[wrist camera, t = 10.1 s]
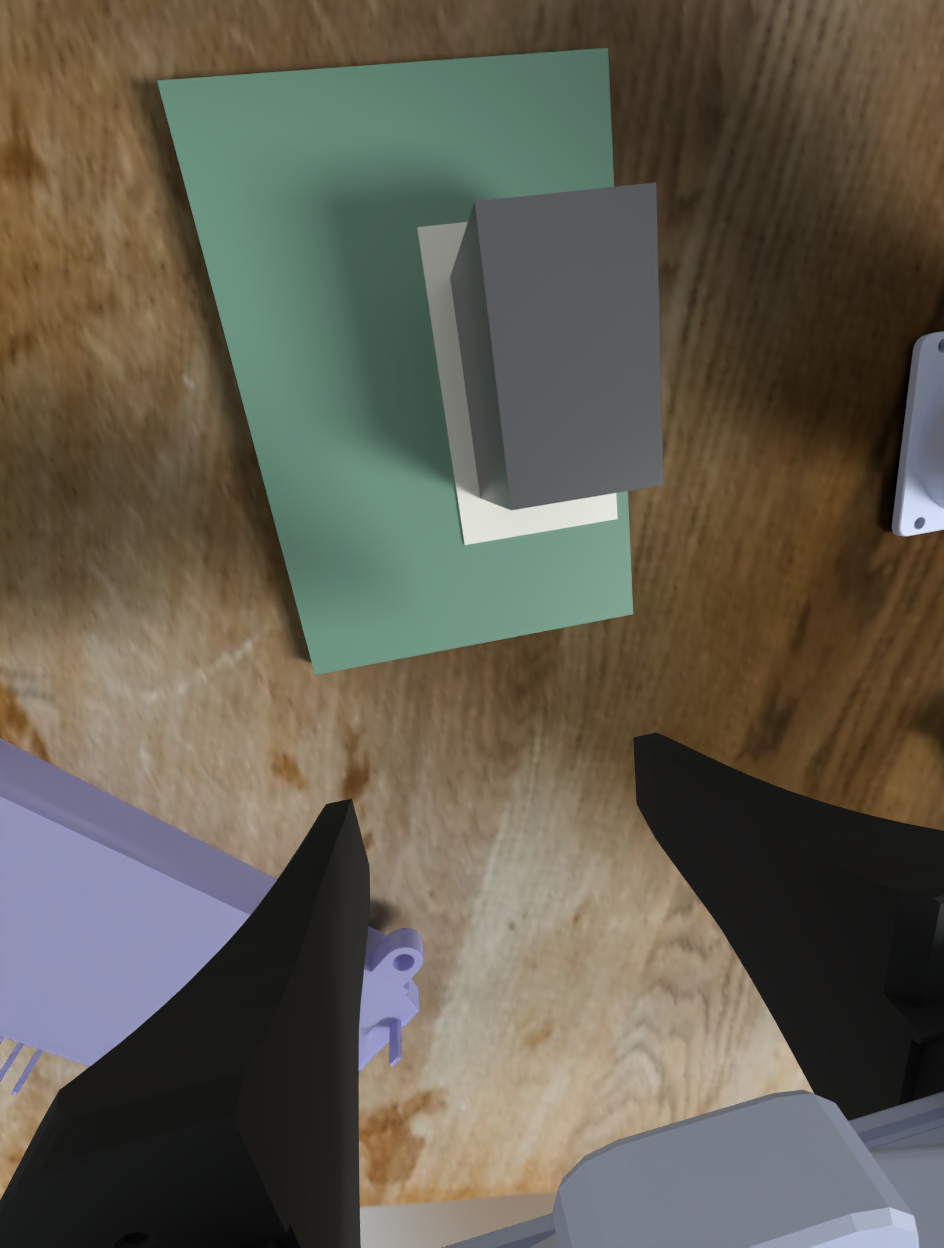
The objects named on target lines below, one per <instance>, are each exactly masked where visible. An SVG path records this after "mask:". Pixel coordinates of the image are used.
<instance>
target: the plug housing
mask: <svg viewBox="0 0 944 1248" xmlns="http://www.w3.org/2000/svg"><path fill="white" fill-rule="evenodd" d="M450 280H451V287H452V295H453V302H454V309H455V316H456V324H457V331H458V338H459V346H460V353H461V360H462V368H463V375H464V382H465V390H466V397H467V404H468V411H469V419H470V426H471V433H472V441H473V448H474V455H475V463H476V470H477V477H478V485H479V492H480V499H483V500H486V501H488V502H491V503H493V504H496V505H499V506H501V507H504V508H506V509H509V510H517V509H523V508H529V507H535V506H541V505H547V504H553V503H559V502H565V501H571V500H577V499H583V498H589V497H595V496H601V495H607V494H613V493H619V492H625V491H631V490H637V489H643V488H649V487H655V486H661V485H663V446H662V404H661V362H660V320H659V278H658V236H657V195H656V182H655V183H646V184H636V185H627V186H617V187H607V188H598V189H588V190H578V191H569V192H559V193H549V194H540V195H530V196H521V197H511V198H501V199H492V200H482V201H475V202H474V205H473V208H472V211H471V214H470V217H469V220H468V223H467V226H466V229H465V232H464V236H463V239H462V242H461V245H460V248H459V251H458V254H457V257H456V260H455V263H454V266H453V269H452V272H451V276H450Z"/></svg>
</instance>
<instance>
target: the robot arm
mask: <svg viewBox="0 0 944 1248" xmlns="http://www.w3.org/2000/svg"><path fill="white" fill-rule="evenodd" d="M939 343H940V348H939V350H938V345H939ZM915 521H916V524H915ZM914 524H915V525H914ZM938 530H944V332H936V333H931V334H927V335H924V336H921V337H920V338H919V339H918V340H917V342H916V343H915V345H914V348H913V353H912V362H911V370H910V378H909V387H908V395H907V403H906V412H905V420H904V428H903V437H902V445H901V453H900V462H899V470H898V478H897V487H896V495H895V503H894V512H893V520H892V531H893V533H894V534H896V535H898V536H911V535H917V534H922V533H928V532H933V531H938ZM634 758H635V779H636V800H637V805H638V807H639V809H640V811H641V813H642V815H643V817H644V818H645V820H646V822H647V824H648V826H649V828H650V829H651V831H652V833H653V835H654V836H655V838H656V840H657V841H658V842H659V844H660V845H661V847H662V848H663V850H664V851H665V852H666V854H667V855H668V856H669V858H670V859H671V861H672V862H673V863H674V865H675V866H676V868H677V869H678V870H679V872H680V873H681V874H682V876H683V877H684V878H685V880H686V881H687V882H688V884H689V885H690V887H691V888H692V889H693V891H694V892H695V893H696V895H697V896H698V897H699V899H700V900H701V902H702V903H703V904H704V906H705V907H706V908H707V910H708V911H709V912H710V914H711V915H712V917H713V918H714V920H715V921H716V922H717V924H718V925H719V927H720V928H721V930H722V931H723V933H724V934H725V936H726V938H727V939H728V941H729V943H730V944H731V946H732V948H733V949H734V951H735V953H736V954H737V956H738V958H739V959H740V961H741V963H742V964H743V966H744V968H745V969H746V971H747V973H748V974H749V976H750V978H751V979H752V981H753V983H754V985H755V986H756V988H757V990H758V992H759V993H760V995H761V997H762V999H763V1000H764V1002H765V1004H766V1006H767V1007H768V1009H769V1011H770V1013H771V1014H772V1016H773V1018H774V1020H775V1021H776V1023H777V1025H778V1027H779V1029H780V1031H781V1032H782V1034H783V1036H784V1038H785V1040H786V1042H787V1043H788V1045H789V1047H790V1049H791V1051H792V1053H793V1055H794V1056H795V1058H796V1060H797V1062H798V1064H799V1066H800V1067H801V1069H802V1071H803V1073H804V1075H805V1077H806V1079H807V1080H808V1082H809V1084H810V1086H811V1088H812V1090H813V1092H814V1094H813V1093H811V1092H808V1091H805V1090H798V1091H789V1092H781V1093H773V1094H769V1095H766V1096H763V1097H759V1098H756V1099H753V1100H749V1101H746V1102H743V1103H739V1104H736V1105H733V1106H729V1107H726V1108H723V1109H719V1110H716V1111H713V1112H709V1113H706V1114H703V1115H699V1116H696V1117H693V1118H689V1119H686V1120H683V1121H679V1122H676V1123H673V1124H669V1125H666V1126H663V1127H659V1128H656V1129H653V1130H649V1131H646V1132H643V1133H639V1134H636V1135H633V1136H629V1137H626V1138H623V1139H619V1140H617V1141H615V1142H613V1143H611V1144H608V1145H606V1146H604V1147H602V1148H600V1149H598V1150H596V1151H594V1152H592V1153H590V1154H588V1155H586V1156H584V1157H583V1158H582V1159H581V1160H580V1161H579V1162H578V1163H577V1164H576V1165H575V1166H574V1167H573V1169H572V1170H571V1171H570V1172H569V1173H568V1174H567V1175H566V1176H565V1177H564V1178H563V1179H562V1181H561V1184H560V1186H559V1189H558V1193H557V1196H556V1200H555V1204H554V1208H553V1212H552V1213H551V1214H548V1215H545V1216H542V1217H539V1218H536V1219H532V1220H529V1221H526V1222H523V1223H519V1224H516V1225H513V1226H510V1227H506V1228H504V1229H500V1230H497V1231H494V1232H490V1233H487V1234H484V1235H481V1236H478V1237H474V1238H471V1239H468V1240H465V1241H461V1242H458V1243H455V1244H452V1245H449V1246H445V1247H442V1248H944V831H942V830H937V829H932V828H926V827H921V826H916V825H911V824H906V823H901V822H897V821H892V820H888V819H883V818H879V817H875V816H871V815H867V814H863V813H860V812H856V811H852V810H848V809H844V808H841V807H837V806H834V805H830V804H827V803H824V802H821V801H818V800H815V799H812V798H809V797H806V796H803V795H800V794H797V793H794V792H791V791H788V790H785V789H782V788H780V787H777V786H774V785H772V784H769V783H767V782H764V781H762V780H760V779H757V778H755V777H752V776H750V775H747V774H745V773H743V772H740V771H738V770H736V769H734V768H731V767H729V766H727V765H725V764H723V763H720V762H718V761H716V760H714V759H712V758H710V757H708V756H705V755H703V754H701V753H699V752H697V751H695V750H693V749H691V748H689V747H687V746H685V745H683V744H681V743H678V742H676V741H674V740H672V739H670V738H668V737H665V736H663V735H661V734H658V733H652V734H647V735H643V736H638V737H634ZM369 914H370V874H369V863H368V859H367V855H366V851H365V847H364V844H363V840H362V836H361V832H360V828H359V825H358V821H357V817H356V813H355V809H354V806H353V802H352V799H348V800H343V801H339V802H334V803H329V804H326V805H325V807H324V808H323V810H322V811H321V813H320V814H319V816H318V818H317V819H316V821H315V823H314V824H313V826H312V828H311V829H310V831H309V832H308V834H307V836H306V837H305V839H304V840H303V842H302V844H301V845H300V847H299V848H298V850H297V851H296V853H295V854H294V856H293V857H292V859H291V860H290V862H289V863H288V865H287V866H286V868H285V869H284V871H283V872H282V874H281V875H280V877H279V878H278V879H277V881H276V882H275V883H274V885H273V886H272V887H271V889H270V890H269V892H268V893H267V894H266V896H265V897H264V898H263V900H262V901H261V902H260V904H259V905H258V906H257V908H256V909H255V910H254V911H253V913H252V914H251V915H250V916H249V918H248V919H247V920H246V921H245V922H244V924H243V925H242V926H241V927H240V928H239V929H238V930H237V932H236V933H235V934H234V935H233V936H232V937H231V938H230V940H229V941H228V942H227V943H226V944H225V945H224V946H223V947H222V948H221V949H220V950H219V951H218V952H217V953H216V954H215V955H214V956H213V957H212V958H211V959H210V961H209V962H208V963H207V964H206V965H205V966H204V967H203V968H202V969H201V970H200V971H199V972H198V973H197V974H196V975H195V976H194V977H193V978H192V979H191V980H190V981H189V982H188V983H187V984H186V985H185V986H184V987H183V988H182V989H181V990H180V991H178V992H177V993H176V994H175V995H174V996H173V997H172V998H171V999H170V1000H169V1001H168V1002H167V1003H165V1004H164V1005H163V1006H162V1007H161V1008H160V1009H159V1010H158V1011H157V1012H155V1013H154V1014H153V1015H152V1016H151V1017H150V1018H149V1019H147V1020H146V1021H145V1022H144V1023H143V1024H142V1025H141V1026H139V1027H138V1028H137V1029H136V1030H135V1031H134V1032H132V1033H131V1034H130V1035H129V1036H128V1037H126V1038H125V1039H124V1040H123V1041H122V1042H120V1043H119V1044H118V1045H117V1046H115V1047H114V1048H113V1049H112V1050H110V1051H109V1052H108V1053H106V1054H105V1055H104V1056H103V1057H101V1058H100V1059H99V1060H98V1061H96V1062H95V1063H94V1064H93V1065H91V1066H90V1067H89V1068H88V1069H86V1070H85V1071H84V1072H82V1073H81V1074H80V1075H79V1076H77V1077H76V1078H75V1079H74V1080H72V1081H71V1082H70V1083H68V1084H67V1085H66V1086H64V1087H63V1088H62V1089H60V1090H59V1092H58V1093H57V1095H56V1097H55V1099H54V1100H53V1102H52V1104H51V1106H50V1107H49V1109H48V1111H47V1113H46V1114H45V1116H44V1118H43V1120H42V1122H41V1123H40V1125H39V1127H38V1129H37V1131H36V1133H35V1135H34V1137H33V1139H32V1140H31V1142H30V1144H29V1146H28V1148H27V1150H26V1152H25V1154H24V1156H23V1158H22V1160H21V1162H20V1164H19V1165H18V1167H17V1169H16V1171H15V1173H14V1175H13V1177H12V1179H11V1181H10V1183H9V1185H8V1187H7V1189H6V1190H5V1192H4V1194H3V1196H2V1198H1V1200H0V1248H361V1246H360V1203H359V1094H358V1081H359V1022H360V1006H361V996H362V986H363V976H364V966H365V956H366V946H367V936H368V925H369Z"/></svg>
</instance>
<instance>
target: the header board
mask: <svg viewBox="0 0 944 1248" xmlns="http://www.w3.org/2000/svg"><path fill="white" fill-rule="evenodd" d="M157 82H158V86H159V90H160V94H161V97H162V101H163V105H164V109H165V112H166V116H167V120H168V124H169V127H170V131H171V135H172V139H173V142H174V146H175V150H176V154H177V157H178V161H179V165H180V169H181V172H182V176H183V180H184V184H185V188H186V191H187V195H188V199H189V203H190V206H191V210H192V214H193V218H194V221H195V225H196V229H197V233H198V236H199V240H200V244H201V248H202V251H203V255H204V259H205V263H206V267H207V270H208V274H209V278H210V282H211V285H212V289H213V293H214V297H215V300H216V304H217V308H218V312H219V315H220V319H221V323H222V327H223V330H224V334H225V338H226V342H227V346H228V349H229V353H230V357H231V361H232V364H233V368H234V372H235V376H236V379H237V383H238V387H239V391H240V394H241V398H242V402H243V406H244V409H245V413H246V417H247V421H248V425H249V428H250V432H251V436H252V440H253V443H254V447H255V451H256V455H257V458H258V462H259V466H260V470H261V473H262V477H263V481H264V485H265V488H266V492H267V496H268V500H269V504H270V507H271V511H272V515H273V519H274V522H275V526H276V530H277V534H278V537H279V541H280V545H281V549H282V552H283V556H284V560H285V564H286V567H287V571H288V575H289V579H290V582H291V586H292V590H293V594H294V598H295V601H296V605H297V609H298V613H299V616H300V620H301V624H302V628H303V631H304V635H305V639H306V643H307V646H308V650H309V654H310V658H311V661H312V665H313V669H314V673H315V675H317V674H323V673H328V672H333V671H338V670H343V669H349V668H354V667H359V666H364V665H370V664H375V663H380V662H385V661H390V660H396V659H401V658H406V657H411V656H417V655H422V654H427V653H432V652H437V651H443V650H448V649H453V648H458V647H464V646H469V645H474V644H479V643H485V642H490V641H495V640H500V639H505V638H511V637H516V636H521V635H526V634H532V633H537V632H542V631H547V630H552V629H558V628H563V627H568V626H573V625H579V624H584V623H589V622H594V621H599V620H605V619H610V618H615V617H620V616H626V615H631V614H633V600H632V578H631V555H630V533H629V510H628V491H625V492H619V493H613V494H607V495H601V496H595V497H589V498H583V499H577V500H571V501H565V502H559V503H553V504H547V505H541V506H535V507H529V508H523V509H517V510H509V509H506V508H504V507H501V506H499V505H496V504H493V503H491V502H488V501H486V500H483V499H480V492H479V485H478V477H477V470H476V463H475V455H474V448H473V441H472V433H471V426H470V419H469V411H468V404H467V397H466V390H465V382H464V375H463V368H462V360H461V353H460V346H459V338H458V331H457V324H456V316H455V309H454V302H453V295H452V287H451V280H450V276H451V272H452V269H453V266H454V263H455V260H456V257H457V254H458V251H459V248H460V245H461V242H462V239H463V236H464V232H465V229H466V226H467V223H468V220H469V217H470V214H471V211H472V208H473V205H474V202H475V201H482V200H492V199H501V198H511V197H521V196H530V195H540V194H549V193H559V192H569V191H578V190H588V189H598V188H607V187H614V172H613V149H612V127H611V104H610V81H609V59H608V48H599V49H585V50H572V51H558V52H544V53H530V54H517V55H503V56H489V57H475V58H462V59H448V60H434V61H420V62H407V63H393V64H379V65H365V66H352V67H338V68H324V69H310V70H297V71H283V72H269V73H255V74H242V75H228V76H214V77H200V78H187V79H173V80H159V81H157Z"/></svg>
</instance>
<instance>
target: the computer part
mask: <svg viewBox="0 0 944 1248" xmlns="http://www.w3.org/2000/svg"><path fill="white" fill-rule="evenodd" d="M276 881H277V879H276V878H274V877H272V876H270V875H268V874H266V873H264V872H262V871H260V870H258V869H256V868H254V867H252V866H250V865H248V864H246V863H244V862H242V861H240V860H238V859H236V858H234V857H232V856H230V855H228V854H226V853H225V852H223V851H221V850H219V849H217V848H215V847H213V846H211V845H209V844H207V843H205V842H203V841H201V840H199V839H197V838H195V837H193V836H191V835H189V834H187V833H185V832H183V831H181V830H179V829H177V828H175V827H173V826H171V825H170V824H168V823H166V822H164V821H162V820H160V819H158V818H156V817H154V816H152V815H150V814H148V813H146V812H144V811H142V810H140V809H138V808H136V807H134V806H132V805H130V804H128V803H126V802H124V801H122V800H120V799H118V798H116V797H114V796H113V795H111V794H109V793H107V792H105V791H103V790H101V789H99V788H97V787H95V786H93V785H91V784H89V783H87V782H85V781H83V780H81V779H79V778H77V777H75V776H73V775H71V774H69V773H67V772H65V771H63V770H61V769H59V768H58V767H56V766H54V765H52V764H50V763H48V762H46V761H44V760H42V759H40V758H38V757H36V756H34V755H32V754H30V753H28V752H26V751H24V750H22V749H20V748H18V747H16V746H14V745H12V744H10V743H8V742H6V741H4V740H2V739H1V738H0V1043H1V1042H2V1040H3V1039H4V1038H6V1039H9V1040H12V1041H15V1042H18V1044H17V1046H16V1047H15V1049H14V1051H13V1052H12V1054H11V1055H10V1057H9V1058H8V1060H7V1062H6V1063H5V1065H4V1066H3V1068H2V1069H1V1071H0V1081H1V1080H2V1078H3V1077H4V1075H5V1073H6V1072H7V1070H8V1069H9V1067H10V1065H11V1064H12V1062H13V1061H14V1059H15V1057H16V1056H17V1054H18V1053H19V1051H20V1049H21V1048H22V1046H23V1045H27V1046H30V1047H33V1048H36V1049H37V1051H36V1053H35V1054H34V1056H33V1058H32V1059H31V1061H30V1063H29V1064H28V1066H27V1068H26V1069H25V1071H24V1073H23V1074H22V1076H21V1078H20V1079H19V1081H18V1083H17V1084H16V1086H15V1088H14V1089H13V1091H12V1093H11V1094H14V1095H17V1094H18V1092H19V1090H20V1089H21V1087H22V1085H23V1084H24V1082H25V1080H26V1078H27V1077H28V1075H29V1073H30V1072H31V1070H32V1068H33V1067H34V1065H35V1063H36V1061H37V1060H38V1058H39V1056H40V1055H41V1053H42V1051H45V1052H48V1053H51V1054H54V1055H57V1056H60V1057H63V1058H66V1059H69V1060H72V1061H75V1062H78V1063H81V1064H84V1065H87V1066H91V1065H93V1064H94V1063H95V1062H96V1061H98V1060H99V1059H100V1058H101V1057H103V1056H104V1055H105V1054H106V1053H108V1052H109V1051H110V1050H112V1049H113V1048H114V1047H115V1046H117V1045H118V1044H119V1043H120V1042H122V1041H123V1040H124V1039H125V1038H126V1037H128V1036H129V1035H130V1034H131V1033H132V1032H134V1031H135V1030H136V1029H137V1028H138V1027H139V1026H141V1025H142V1024H143V1023H144V1022H145V1021H146V1020H147V1019H149V1018H150V1017H151V1016H152V1015H153V1014H154V1013H155V1012H157V1011H158V1010H159V1009H160V1008H161V1007H162V1006H163V1005H164V1004H165V1003H167V1002H168V1001H169V1000H170V999H171V998H172V997H173V996H174V995H175V994H176V993H177V992H178V991H180V990H181V989H182V988H183V987H184V986H185V985H186V984H187V983H188V982H189V981H190V980H191V979H192V978H193V977H194V976H195V975H196V974H197V973H198V972H199V971H200V970H201V969H202V968H203V967H204V966H205V965H206V964H207V963H208V962H209V961H210V959H211V958H212V957H213V956H214V955H215V954H216V953H217V952H218V951H219V950H220V949H221V948H222V947H223V946H224V945H225V944H226V943H227V942H228V941H229V940H230V938H231V937H232V936H233V935H234V934H235V933H236V932H237V930H238V929H239V928H240V927H241V926H242V925H243V924H244V922H245V921H246V920H247V919H248V918H249V916H250V915H251V914H252V913H253V911H254V910H255V909H256V908H257V906H258V905H259V904H260V902H261V901H262V900H263V898H264V897H265V896H266V894H267V893H268V892H269V890H270V889H271V887H272V886H273V885H274V883H275V882H276ZM422 964H423V948H422V938H421V935H420V934H419V933H418V932H417V931H415V930H413V929H408V928H402V929H398V930H395V931H393V932H391V933H390V934H389V935H386V934H384V933H382V932H380V931H378V930H376V929H374V928H372V927H370V926H368V936H367V946H366V956H365V966H364V976H363V986H362V996H361V1006H360V1022H359V1072H360V1070H361V1069H362V1068H363V1067H364V1066H365V1065H366V1064H367V1063H368V1062H369V1061H370V1060H371V1059H372V1058H373V1057H374V1056H375V1055H376V1054H377V1053H378V1052H379V1051H380V1050H381V1049H382V1048H383V1047H384V1046H385V1045H386V1044H387V1043H388V1042H389V1065H391V1066H395V1065H396V1064H397V1063H398V1062H399V1061H400V1060H401V1059H402V1037H401V1029H402V1028H403V1027H404V1026H405V1025H406V1024H407V1023H408V1022H409V1021H410V1020H411V1019H412V1018H413V1017H414V1016H415V1015H416V1014H417V1013H418V1012H419V992H418V987H417V985H416V984H415V983H414V982H413V981H412V980H411V978H412V977H413V976H414V975H415V974H416V973H417V972H418V971H419V969H420V968H421V967H422Z"/></svg>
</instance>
